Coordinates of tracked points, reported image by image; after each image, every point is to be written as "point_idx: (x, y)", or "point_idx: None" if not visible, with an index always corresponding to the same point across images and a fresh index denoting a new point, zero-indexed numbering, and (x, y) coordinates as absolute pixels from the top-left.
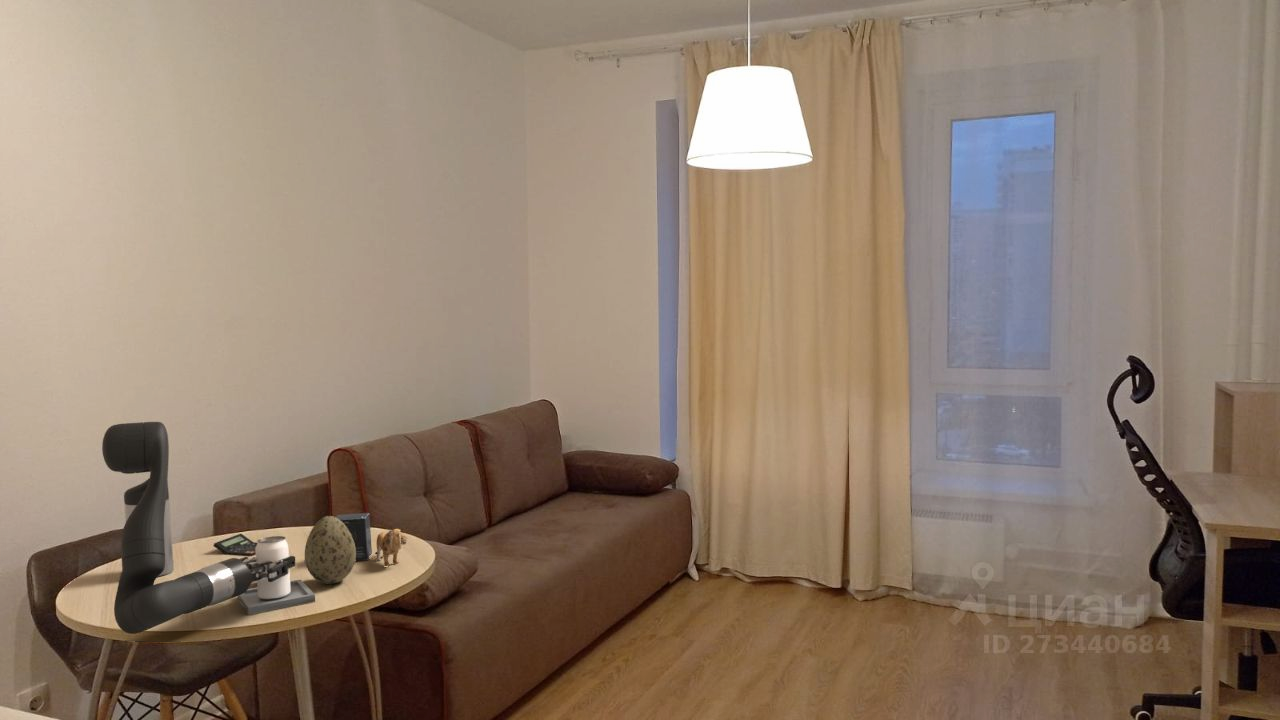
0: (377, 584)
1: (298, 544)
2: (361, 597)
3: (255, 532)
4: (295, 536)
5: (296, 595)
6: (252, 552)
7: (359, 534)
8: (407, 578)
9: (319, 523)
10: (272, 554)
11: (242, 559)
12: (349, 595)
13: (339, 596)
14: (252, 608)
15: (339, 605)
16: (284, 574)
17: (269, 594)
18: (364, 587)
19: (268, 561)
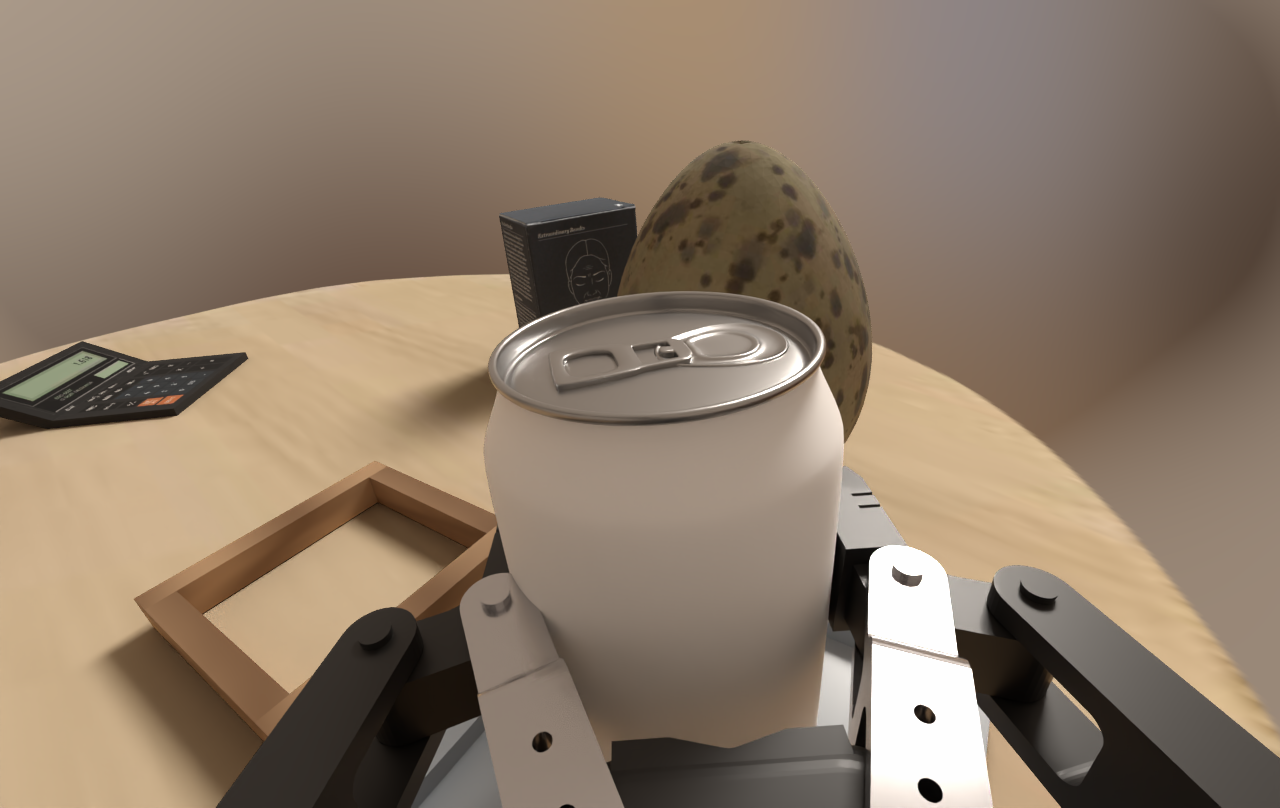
0: (929, 442)
1: (318, 341)
2: (1096, 552)
3: (130, 331)
4: (278, 321)
5: (822, 687)
6: (172, 400)
7: (620, 268)
8: (945, 388)
9: (733, 183)
10: (823, 530)
11: (369, 697)
12: (1005, 553)
13: (982, 579)
14: None
15: (1200, 686)
16: (1084, 727)
17: None
18: (926, 473)
19: (957, 690)
